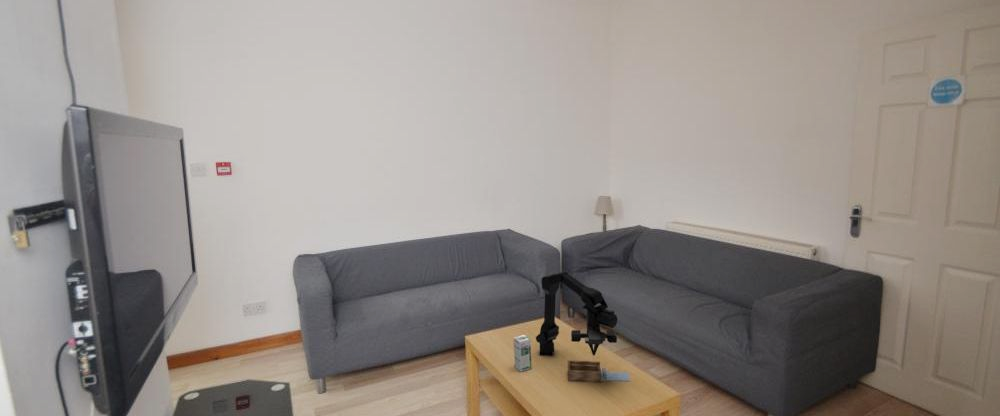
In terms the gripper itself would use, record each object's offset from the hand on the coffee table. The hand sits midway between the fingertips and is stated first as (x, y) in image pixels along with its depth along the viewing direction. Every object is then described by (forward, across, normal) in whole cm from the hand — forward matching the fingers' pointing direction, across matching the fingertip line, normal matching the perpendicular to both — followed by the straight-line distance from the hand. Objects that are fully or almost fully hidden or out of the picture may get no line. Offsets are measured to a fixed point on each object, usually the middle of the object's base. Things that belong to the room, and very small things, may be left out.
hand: (593, 355), depth 191 cm
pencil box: (+10, -4, 0) cm, 11 cm away
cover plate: (+11, +9, +1) cm, 14 cm away
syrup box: (+10, -31, +5) cm, 33 cm away
